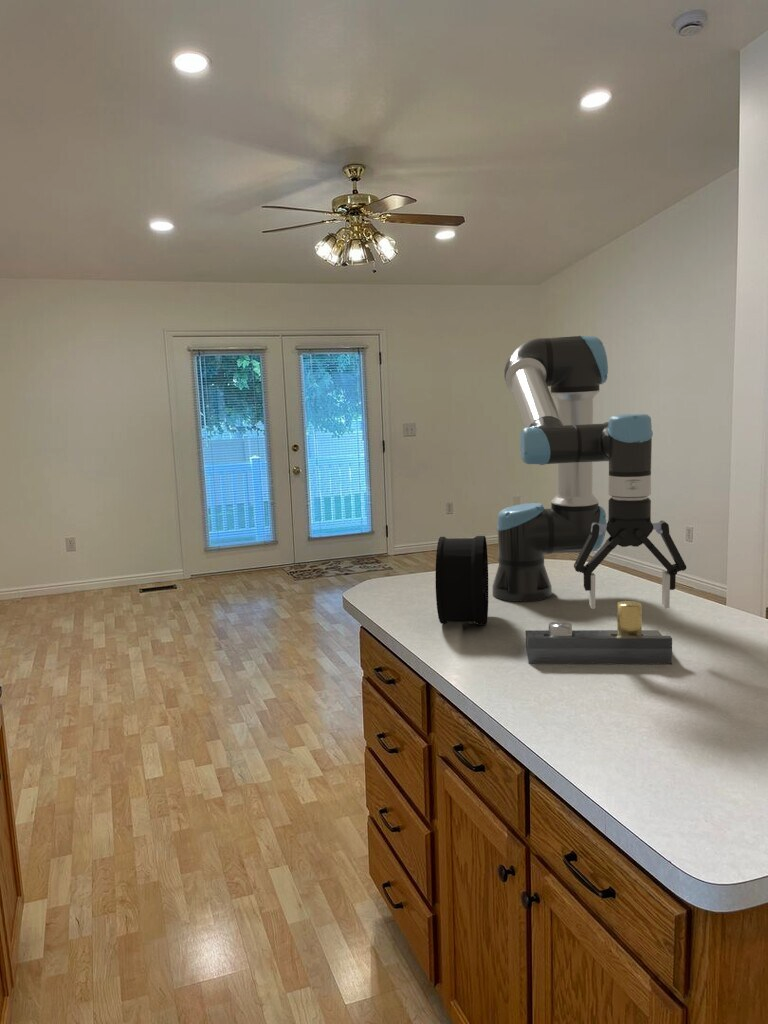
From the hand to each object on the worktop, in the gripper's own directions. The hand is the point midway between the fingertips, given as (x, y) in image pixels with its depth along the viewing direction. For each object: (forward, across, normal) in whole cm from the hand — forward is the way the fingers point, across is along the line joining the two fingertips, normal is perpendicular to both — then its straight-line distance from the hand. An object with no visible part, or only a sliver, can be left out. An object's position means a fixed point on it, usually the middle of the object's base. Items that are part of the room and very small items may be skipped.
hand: (628, 606), depth 135 cm
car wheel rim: (+10, -32, +20) cm, 40 cm away
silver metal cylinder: (+9, -13, -1) cm, 16 cm away
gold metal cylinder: (+9, 0, -1) cm, 9 cm away
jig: (+9, -6, -1) cm, 11 cm away
